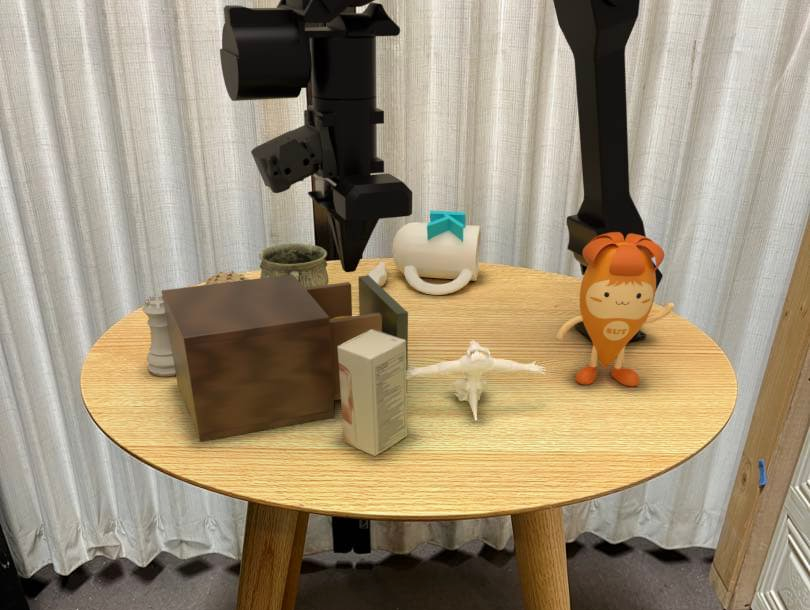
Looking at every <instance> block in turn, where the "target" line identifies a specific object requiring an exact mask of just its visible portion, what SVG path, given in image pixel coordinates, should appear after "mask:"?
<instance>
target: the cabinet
mask: <svg viewBox="0 0 810 610" xmlns="http://www.w3.org/2000/svg"><path fill="white" fill-rule="evenodd" d="M161 295H162V296H163V302H164V308H165V314H166V320H167V326H168V332H169V338H170V343H171V349H172V355H173V361H174V367H175V373H176V375H175V377H176V385H177V388H178V391H179V392H180V395H181V398H182V400H183V403H184V405H185V408H186V410H187V413H188V415H189V418H190V420H191V422H192V425H193V428H194V431H195V433H196V435H197V437H198V441H199V442H206V441H210V440H217V439H222V438H227V437H232V436H233V437H234V436H238V435H244V434H249V433H255V432H262V431H265V430H270V429H272V430H273V429H279V428H282V427H289V426H293V425H300V424H306V423H311V422H315V421H316V422H317V421H321V420H322V421H323V420H327V419H333V418H335V405H334V402H335V401H334V400H333V381H332V359H331V338H330V318H329V316H328V315H327V314H326V313H325V312H324V310H323V309H322V308H321V307H320V306H319V305H318V303H317V302H316V301H315V300H314V299H313V297H312V296H311V295H310V294H309V293H308V292H307V290H306V289H305V288H304V287H303V286H302V285H301V283H300V282H299V281H298V280H297V279H296V278H295V276H294V275H293V274H291V275H283V276H275V277H267V278H260V277H259V278H252V279H250V280H242V281H234V282H226V283H218V284H210V285H205V284H203V285H195V286H186V287H178V288H171V289H163V290H161Z"/></svg>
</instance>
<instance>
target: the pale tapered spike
mask: <svg viewBox="0 0 810 610" xmlns="http://www.w3.org/2000/svg"><path fill="white" fill-rule="evenodd" d="M386 265H387V264H386V262H385V261H380V262H379V264H378V265H376V266H375V267H374V268H373V269H371V270H369V271H368V273H367V275H369V276H370V277H371V278H372V279H373V280H374V281H375V282H376V283H377V284H378V285H379V286H380V287H383V286H384V285H385V284H386V282H387V280H388V279H387V278H388V271H387V268H386Z"/></svg>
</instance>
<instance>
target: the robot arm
mask: <svg viewBox="0 0 810 610" xmlns="http://www.w3.org/2000/svg"><path fill="white" fill-rule="evenodd" d="M374 1H376V0H279V1H278V4H277V5H276V7H246V6H243V5H238V4H236V5H235V4H234V5H228V4H227V5H225V6H224V7H223V16H224V17H223V19H224V24H223V27H222V31H221V32H222V33H221V48H220V49H219V57H220V66H221V72H222V77H223V82H224V86H225V89H226V92H227V94H228V97H229V99H230V100H231V101H232V102H239V101H240V102H241V101H263V100H279V99H280V100H281V99H282V100H283V99H297V98H298V97H299V96H300V95H301V92H302V89H308V88H309V87H308V85H309V83H310V81H311V91H312V93H311V94H312V96H311V97H312V105H310V104H309V105H306V109H304V111H303V120H304V121H303V123H304V124H303V125H302V126H299V127H297V128H295V129H291V130H288V131H286V132H284V133H282V134H280V135H278V136H276V137H274V138H272V139H269V140H268V141H265V142H264V143H261V144H259V145H257V146H256V147H254V148H252V149H251V152H250V153H251V155H252V158H253V160H254V163H255V164H256V167H257V169H258V172H259V174H260V176H261V179H262V181H263V184H264V185H265V187H268V188H269V189H270V191H271V192H272V193H274V194H279V193H284V192H285V191H287V190H289V189H291V186H292V185H295V184H297V183H299V182H304V180H305V179H307V178H309V177H311V176H312V177H314V183H315V190H311V191H308V192H307V195H308V196H309V197H310V198H311V200H313V201H314V202H315V203H316V204H317V205H318V206H319V207H321V209H323V211H324V213H326V217H327V220H328V223H329V226H330V229H331V232H332V237H333V240H334V243H335V247H336V251H337V254H338V258H339V262H340V264H341V268H342V270H343V271H344V272H345V273H354V272H355V271H357V268H358V266H359V264H360V261H361V259H362V257H363V255H364V253H365V250H366V248H367V245H368V243H369V242H370V239H371V236H372V235H373V232H374V230H375V229H376V226H377V225H378V222H379V221H380V220H383V219H391V218H392V219H393V218H394V219H395V218H404V217H410V216H411V215H413V191H412V190H411V189H410V187H408V186H407V184H406V183H405V182H404V181H403V180H401V179H399V178H397V177H396V176H394V175H392V174H391V173H385V161H384V159H382V158H380V157H378V127H377V126H378V125H382V124H385V110H383V109H381V108H378V106H377V104H378V102H377V97H378V96H377V93H378V92H377V91H378V90H377V89H378V88H377V37H398V36H399V35H400V33H401V28H400V26H399V24H397V23H396V22H395V21H394V20H393V19H392V18H391V17H390V16H389V14H388V13H387V12H386V10H385V7H384V5H383V4H382V3H379V2H374ZM552 2H553V6H554V11H555V15H556V19H557V24H558V27H559V29H560V30H561V32H562V35H563V36H564V39H565V41H566V43H567V46H568V47H569V49H570V51H571V54H572V56H573V61H574V71H575V73H574V75H575V87H576V102H577V116H578V129H579V130H578V132H579V141H580V142H579V144H580V145H579V147H580V158H581V159H580V160H581V173H582V186H583V188H582V189H583V198H582V199H583V200H582V202H581V204H580V207H579V209H578V211H577V213H576V214H572V215H568V216H567V217H566V222H565V223H566V227H567V230H568V243H567V250H569V251H570V252H572V253H573V254H572V255H573V257H574V258H575V260H576V262H578V263H579V267H580V272H581V275H582V277H583V276H584V273H585V271H586V269H587V267H588V265H589V264H588V263H587V262H586V260H585V259H584V257H583V254H582V252H583V249H584V247H585V246H586V245H587V244H588V243H589V242H590V241H591V240H592V239H593V238H595V237H597V236H599V235H602V234H606V233H611V232H620V233H622V235H623V237H624V241H625V239H626V236H627V235H628V234H637V235H641V236H644V237H647V236H646V230H645V229H646V228H645V224H644V220H643V218H642V216H641V214H640V212H639V209H638V208H637V206H636V204H635V202H634V200H633V198H632V196H631V191H630V167H629V166H630V164H629V162H630V161H629V137H628V136H629V135H628V133H629V132H628V106H627V105H628V102H627V76H626V75H627V74H626V72H627V71H626V47H627V44H628V42H629V39H630V37H631V35H632V32H633V30H634V27H635V25H636V22H637V21H638V17H639V14H640V13H639V12H640V3H641V0H552ZM364 6H366V8H365V9H364V10H363V11H362V12H351V13H350V12H348V13H343V12H344V11H346V9H347V8H362V7H364ZM306 23H307V24H327V26H318V27H306ZM653 265H654V268H655V267H656V263H655V262H654V261H653ZM655 275H656V291H657V290H658V288H659V286H660V284H661V281H662V279H663V276H664V275H663V273H662V272H661V271H660V269H659V267H658V268H657V269H656V270H655ZM573 327H574V328H575V329H576V330H577V331H579V332H581V333H582V334H583V335H585V336H586V337H587V338H589V339H590V340H591V338H590V336H589V334H588V332H587V330H586V328H585V325H584V323H583V321H582V322H579V323H577V324H575V325H574V326H573ZM646 338H647V333H645V332H643V331H642V330H641V329H640V330H639V331H638V332H637V333H636V334H635V335H634V337H633V338H632V339H631V340H630V341H629V342H635V341H641V340H645V339H646Z"/></svg>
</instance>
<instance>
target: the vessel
mask: <svg viewBox="0 0 810 610" xmlns="http://www.w3.org/2000/svg"><path fill="white" fill-rule="evenodd" d="M327 256H328V251H327V250H326V249H324V247H321V246H319V245H314V244H310V243H300V242H299V243H297V242H296V243H282V244H276V245H273V246H269V247H266V248H264V249H262V250H261V251H260V252H259V253H258V257H259V259H260V261H261V262H260V263H259V269H261V271H260V276H259V278H267V277H275V276H283V275H291V274H293V275H294V276H295V278H296V279H297V280H298V281H299V282H300V283H301V285H302V286H303V287H304V288H306V287H313V286H321V285H329V284H328V283H329V274H328V271H327V266H328V262H327V260H326V258H327Z"/></svg>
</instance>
